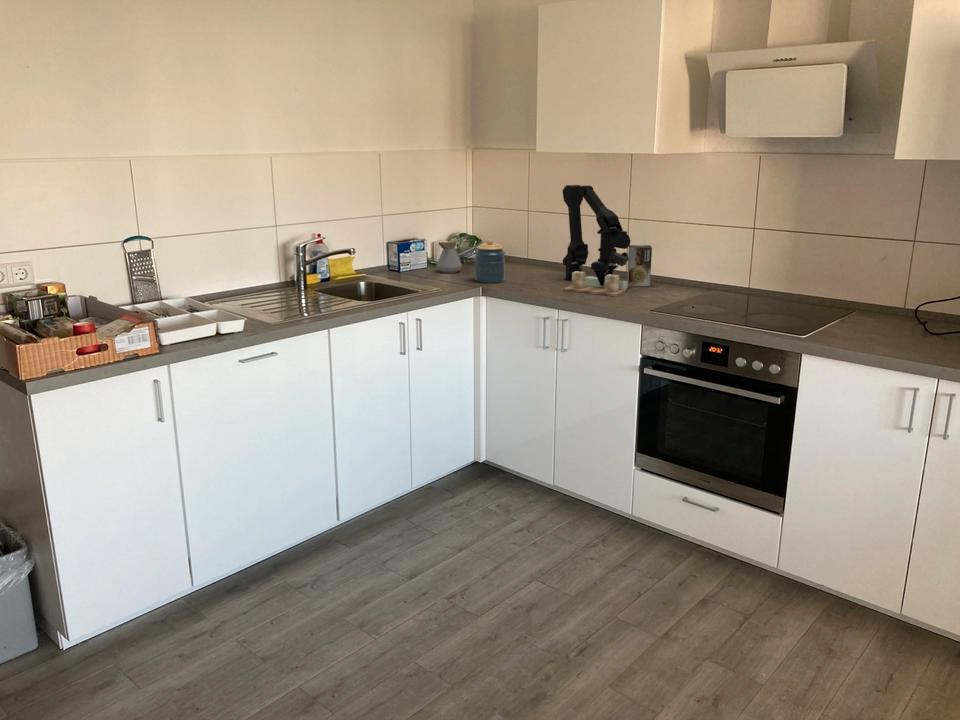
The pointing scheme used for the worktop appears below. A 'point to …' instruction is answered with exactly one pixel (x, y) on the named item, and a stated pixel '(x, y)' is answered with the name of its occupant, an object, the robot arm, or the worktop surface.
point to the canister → (489, 263)
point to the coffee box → (639, 265)
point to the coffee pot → (448, 259)
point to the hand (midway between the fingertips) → (605, 284)
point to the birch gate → (608, 290)
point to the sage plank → (595, 282)
